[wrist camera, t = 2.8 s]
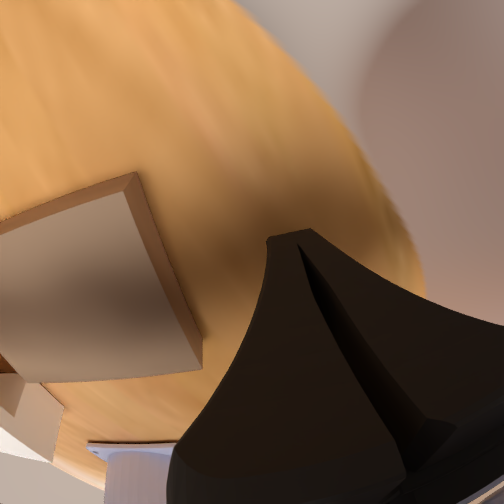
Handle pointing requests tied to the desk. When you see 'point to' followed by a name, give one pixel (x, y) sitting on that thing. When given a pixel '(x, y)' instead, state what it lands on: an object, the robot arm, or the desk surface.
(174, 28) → the desk surface
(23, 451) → the white shelf
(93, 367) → the walnut panel
